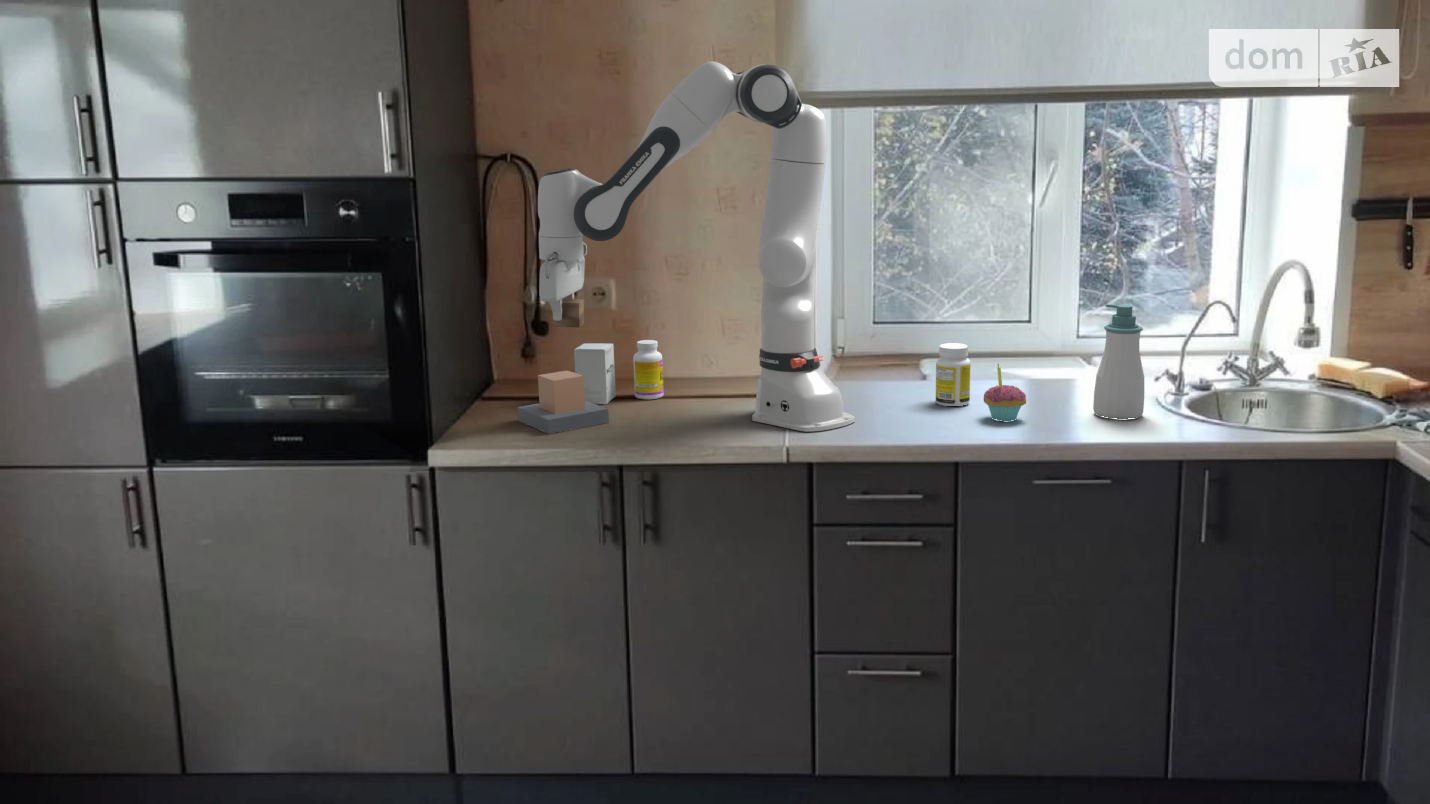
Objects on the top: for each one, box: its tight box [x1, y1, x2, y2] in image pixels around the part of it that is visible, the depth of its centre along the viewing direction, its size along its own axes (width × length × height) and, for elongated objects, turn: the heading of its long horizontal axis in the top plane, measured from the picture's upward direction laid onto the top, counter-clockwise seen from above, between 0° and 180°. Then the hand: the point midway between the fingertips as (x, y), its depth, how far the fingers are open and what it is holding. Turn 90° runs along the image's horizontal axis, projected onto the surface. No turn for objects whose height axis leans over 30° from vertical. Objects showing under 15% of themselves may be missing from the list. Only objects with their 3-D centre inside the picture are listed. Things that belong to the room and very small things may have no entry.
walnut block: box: [554, 298, 585, 328], centre depth 235 cm, size 5×5×5 cm
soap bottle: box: [1092, 303, 1145, 419], centre depth 233 cm, size 10×10×23 cm
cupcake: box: [983, 363, 1027, 421], centre depth 234 cm, size 9×8×12 cm
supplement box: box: [573, 342, 616, 405], centre depth 257 cm, size 7×7×13 cm
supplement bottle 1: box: [632, 339, 665, 401], centre depth 260 cm, size 7×7×13 cm
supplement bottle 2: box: [935, 342, 971, 407], centre depth 247 cm, size 7×7×13 cm
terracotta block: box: [537, 370, 585, 414], centre depth 239 cm, size 7×7×7 cm
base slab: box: [517, 401, 610, 434], centre depth 241 cm, size 14×14×3 cm
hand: (562, 317), depth 235 cm, fingers closed on walnut block, 5 cm apart
